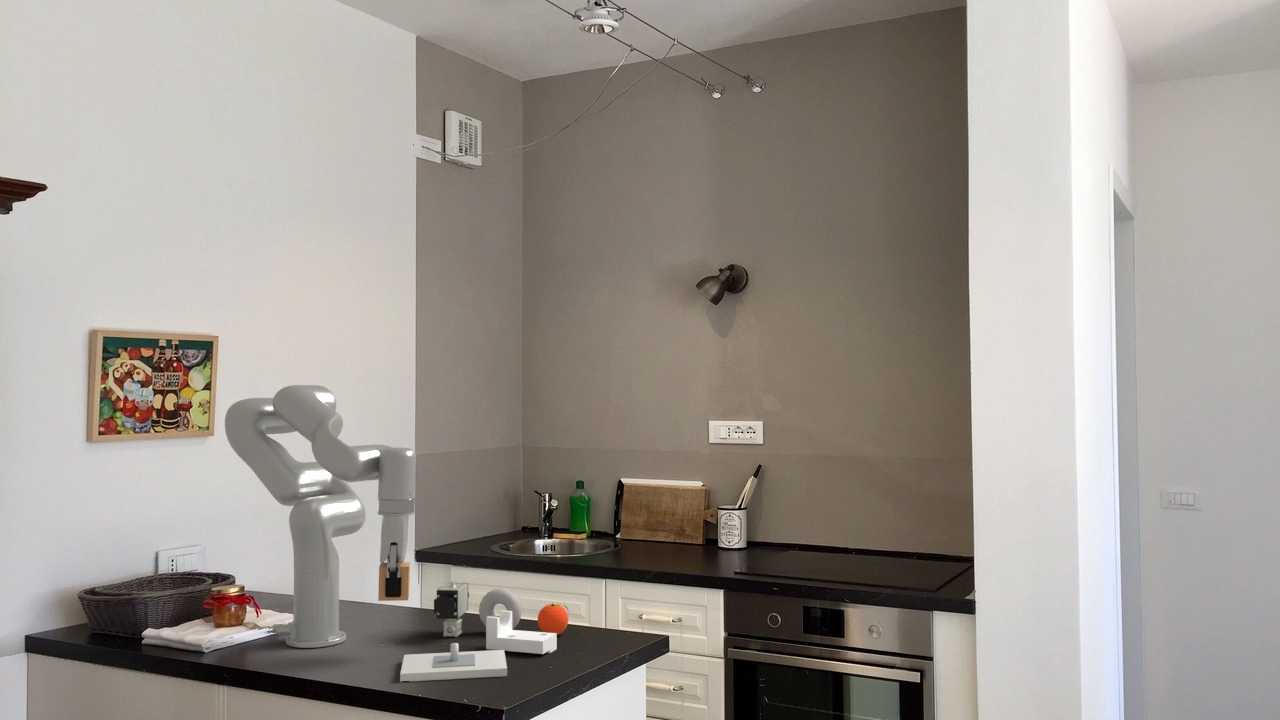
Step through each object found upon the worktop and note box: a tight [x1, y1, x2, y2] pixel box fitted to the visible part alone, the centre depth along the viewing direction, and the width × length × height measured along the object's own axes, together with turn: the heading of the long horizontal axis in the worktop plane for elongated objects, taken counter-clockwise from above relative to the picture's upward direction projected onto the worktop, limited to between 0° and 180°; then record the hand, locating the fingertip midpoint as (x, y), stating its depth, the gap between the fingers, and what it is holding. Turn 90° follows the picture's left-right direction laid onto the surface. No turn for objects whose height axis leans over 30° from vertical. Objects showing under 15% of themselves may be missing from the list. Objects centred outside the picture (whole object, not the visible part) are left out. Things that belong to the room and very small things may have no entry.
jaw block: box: [377, 561, 411, 602], centre depth 209 cm, size 6×5×7 cm
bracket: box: [485, 609, 558, 655], centre depth 211 cm, size 13×7×8 cm, turn 71°
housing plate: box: [399, 642, 508, 683], centre depth 197 cm, size 20×14×5 cm
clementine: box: [537, 603, 570, 636], centre depth 224 cm, size 8×7×7 cm
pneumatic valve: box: [433, 580, 470, 638], centre depth 224 cm, size 6×12×12 cm, turn 174°
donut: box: [478, 588, 522, 630], centre depth 226 cm, size 10×4×10 cm, turn 78°
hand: (393, 593), depth 209 cm, fingers closed on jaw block, 4 cm apart
